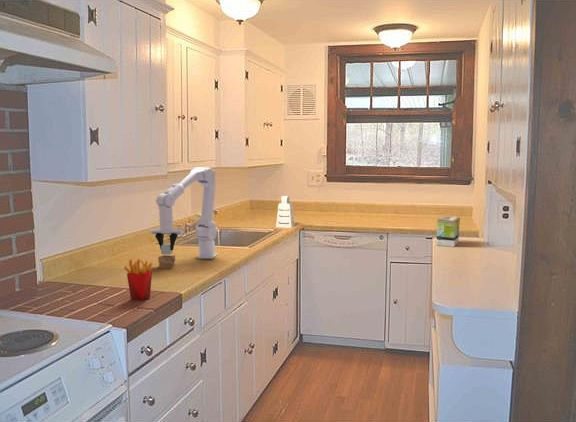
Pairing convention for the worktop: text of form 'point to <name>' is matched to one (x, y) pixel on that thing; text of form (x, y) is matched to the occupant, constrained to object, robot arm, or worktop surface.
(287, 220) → the grater
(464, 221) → the worktop surface
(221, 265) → the worktop surface
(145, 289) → the french fries
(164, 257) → the slab top
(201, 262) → the worktop surface
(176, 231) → the robot arm
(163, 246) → the gray cube
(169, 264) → the slab base
